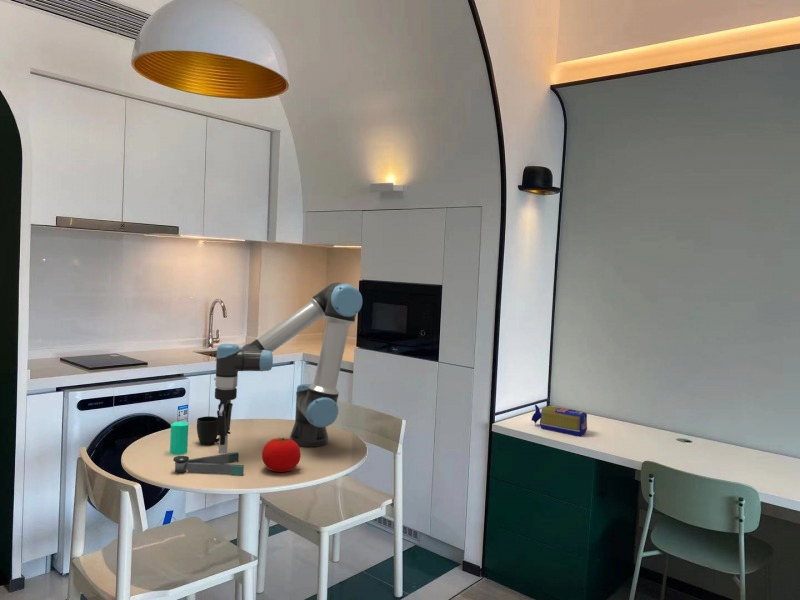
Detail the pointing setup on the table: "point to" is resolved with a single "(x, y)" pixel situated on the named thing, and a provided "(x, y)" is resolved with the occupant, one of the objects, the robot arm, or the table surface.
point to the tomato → (281, 454)
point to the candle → (179, 438)
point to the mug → (207, 430)
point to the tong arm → (217, 459)
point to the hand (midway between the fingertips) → (222, 452)
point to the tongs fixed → (206, 467)
